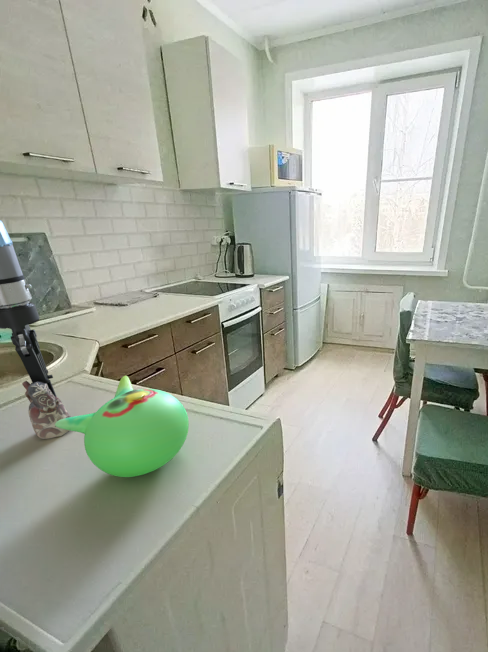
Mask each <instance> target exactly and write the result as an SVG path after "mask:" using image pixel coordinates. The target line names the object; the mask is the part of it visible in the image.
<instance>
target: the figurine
mask: <svg viewBox="0 0 488 652" xmlns="http://www.w3.org/2000/svg"><path fill="white" fill-rule="evenodd" d="M21 386H23V388H24V390H25V392H24V395H25V397H26V398H27V399H28V401H29V403H30V404H29V405H28V410H27V411H28V416H29V420H30V422H31V426H32V429H33V431H34V433H35V435H36V436H37V437H38V438H39V439H43V440H47V439H53V438H57V437H61V436H63V435H65V434H66V433H68V432H70V430H65V429H61V428H58V427H56V426H55V423H56V422H57V421H59V420H61V419H65V418H69V417H72V416H71V414H70V413H69V411H68V410H67V409H66V407H65V406H64V404H63V401H62V400H61V399H60V398H59V397H58V396H57V397H55V396H54V395H53V394H52V392H51V391H50V389H49V388H48V385H47V384H44V383H41V382H35V383H33V384H31V383H30V382H29V381H27V380H24V381H23V382H22V385H21Z"/></svg>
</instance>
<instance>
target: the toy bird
mask: <svg viewBox="0 0 488 652" xmlns="http://www.w3.org/2000/svg"><path fill="white" fill-rule="evenodd" d="M133 387H134V386H133V385H132V382H131V380H130V378H129V376H127V375H124V376H122V377H121V378H120V380H119V383H118V385H117V388H116V390H115V391H116V392H115V394H114V397H113V398H111V399H109V400H108V401H107V402H105V403H104V404H103V405H102V406H100V407H99V408H98V409H97V410H96V411H95V412H91V413H87V414H86V413H85V414H80V415H75V416H71V417H69V418H65V419H61V420H59V421H57V422H56V423H55V426H56V427H58V428H61V429H65V430H69V432H70V431H71V432H74V433H75V432H76V433H81V434H84V438H83V443H84V444H83V445H84V450H85V453H86V455H87V457H88V459H89V460H90V461H91V463H92V464H93V465H94V466H95V467H96V468H98V469H99V470H101V471H102V472H104V473H106V474H107V475H111V476H115V477H118V478H119V477H120V478H131V477H132V478H133V477H139V476H143V475H146V474H150V473H152V472H154V471H156V470H158V469H160V468H162V467H163V466H165V465H166V464H167V463H169V462H170V461H171V460H173V458H174V457H175V456H176V455H178V453H179V452H180V450H181V449H182V448H183V445H184V444H185V441H186V439H187V437H188V433H189V427H190V425H189V424H190V423H189V416H188V412H187V410H186V408H185V406H184V405H183V403H182V402H181V401H180V400H179V399H178V398H177V397H175V396H174V395H172V394H171V393H170V392H166V391H164V390H161V389H156V388H155V389H154V388H141V389H140V388H139V389H134V388H133Z"/></svg>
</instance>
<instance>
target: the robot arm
mask: <svg viewBox="0 0 488 652" xmlns="http://www.w3.org/2000/svg"><path fill="white" fill-rule="evenodd" d="M13 244H14V243H13V241H12V239H11V237H10V234H9V233H8V231H7V228H6V227H5V224H4V223H3V221H2V220H1V219H0V329H2V330H5V329H10V330H11V336H10V340H11V342H12V345H13V346H15V349H14V350H15V352H16V353H17V355H18V356H19V358H20V360H21V362H22V364H23V366H24V369H25V370H26V372H27V374H28V376H29V379H30V380H31V383H30V384H33V383H35V382H41V383H44V384H47V385H48V388H49V389H50V391H51V392H52V394H53V395H54V396H55V397H57V398H58V396H57V393H56V392H55V389H54V386H53V383H52V382H51V379H53V378H54V376H53V374H49V370H48V368H47V366H46V363H45V361H44V357H43V354H42V352H41V348H40V347H41V346H40V344H39V342H38V341H39V340H38V339H37V337H38V334H37V332H36V329H31V327H30V325H33V324H36V323H37V322H39V321H40V318H41V317H40V315H39V311H38V309H37V307H36V304H35V303H34V302H33V301H32V299H33V297H32V294H31V292H30V291H31V290H32V289H33V286H32V284H31V283H26V282H27V281H26V278H25V276H24V274H23V271H22V268H21V265H20V262H19V260H18V256H17V254H16V251H15V248H14V245H13Z"/></svg>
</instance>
